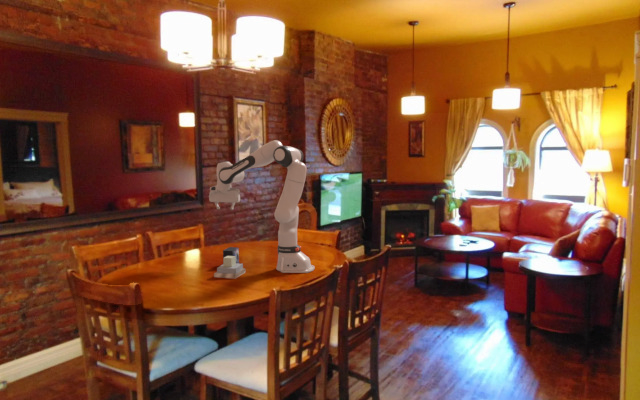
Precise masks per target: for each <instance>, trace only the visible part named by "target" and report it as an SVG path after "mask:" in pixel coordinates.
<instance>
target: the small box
mask: <svg viewBox="0 0 640 400" xmlns="http://www.w3.org/2000/svg"><path fill="white" fill-rule="evenodd" d="M239 249H240V248H239V247H234V246H229V247H227V248H225V249H224V250H222V258H224V257H226V256H236V263H239V264H240V255H239V254H240V252H239V251H240V250H239ZM222 263H223V264H224V262H222ZM223 264H222V265H223Z"/></svg>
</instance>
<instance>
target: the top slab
mask: <svg viewBox="0 0 640 400" xmlns="http://www.w3.org/2000/svg"><path fill="white" fill-rule="evenodd" d="M243 264H244V263H240V262H239V263H236V265H235V266H233V267H224V264H221V265H219V266H217V268H216V272H217V273H224V274H237V273H238V272H239V271H241V270H242V269H243V268H244V265H243Z"/></svg>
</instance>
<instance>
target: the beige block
mask: <svg viewBox="0 0 640 400" xmlns="http://www.w3.org/2000/svg"><path fill="white" fill-rule="evenodd" d="M222 258H223V257H222ZM222 261H223V262H224V267H233V266H235V265H236V256H226V257H224V258H223V260H222ZM223 262H222V263H223Z"/></svg>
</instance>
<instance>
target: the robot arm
mask: <svg viewBox="0 0 640 400" xmlns="http://www.w3.org/2000/svg"><path fill="white" fill-rule="evenodd" d="M303 161H304V153H303V151H302V150H301V149H299V148H297V147H293V146H290V145H289V146H288V145H283V143H282V142H281V141H280V140H278V139H274V140H271V141H269V142H267V143H265V144H264V145H262V146H260V147H258V148H257V149H256V150H255V151H253V152H252V153H250V154H248V155H247V156H245V157H244V158H243V159H240V160H239V161H237V162H236V163H234V164H233V163H231V162H230V161H220V162H218V163H217V165H216V179H217V181H216V185H213V186H210V187H209V193H208V194H209V195H208V200H209V202H210V203H214V205H215V207H216V210H221V206H219V203H231V206H230V209H229V210H231V211H233V210H234V207H235V205H236V203H240V202H241V195H240V194H241V190H240V189H239V188H238V187H232V184H235V183H240V182H243V181H244V180H245V177H246V174H245V171H247V170H250V169H255V168H262V167H264V166H265V167H266V166H268V165H269V164H271V163H272V162H276V163H277V164H279V165H280V166H281V167H283V168H286V169H287V171H286V172H287V173H286V177H285V181H284V184H283V189H282V192H281V195H280V197H279V198H278V199H279V200H278V202H277V206H276V208H275V210H274V214H273V216H274V219H275V221H276V222H278V223H279V227H278V231H277V233H278V234H277V238H278V242H277V243H278V245H277V263H276V270H277V271H278V272H280V273H282V274H283V273H285V274H286V273H287V274H289V273H291V274H294V273H296V274H297V273H298V274H300V273H301V274H304V273H305V274H308V273H311V272H313V271H314V270H315V265H313V264H312V263H311V259H310V257H309V256H307V255H306V254H305V253H304V252H303V251H301V248H302V246H301V245H299V244H298V226H299V214H300V213H299V212H300V207H299V205H298V204H299V202H300V200H301V198H302V195H303V191H304V188H305V187H304V186H305V182H306V178H307V171H308V169H307V168H308V167H307V165H306V163H304V162H303Z"/></svg>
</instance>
